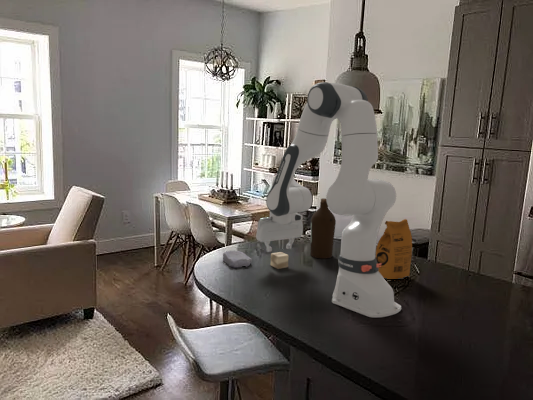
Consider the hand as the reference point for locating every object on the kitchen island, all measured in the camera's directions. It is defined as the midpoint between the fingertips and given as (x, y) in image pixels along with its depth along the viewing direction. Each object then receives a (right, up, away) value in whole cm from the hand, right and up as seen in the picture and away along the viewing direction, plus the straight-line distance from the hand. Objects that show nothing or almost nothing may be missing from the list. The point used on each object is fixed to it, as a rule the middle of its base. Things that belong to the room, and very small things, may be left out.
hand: (278, 250), depth 173 cm
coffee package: (+42, -10, -7) cm, 44 cm away
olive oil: (+19, -5, +17) cm, 26 cm away
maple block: (0, -7, +1) cm, 7 cm away
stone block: (-16, -6, +3) cm, 18 cm away
